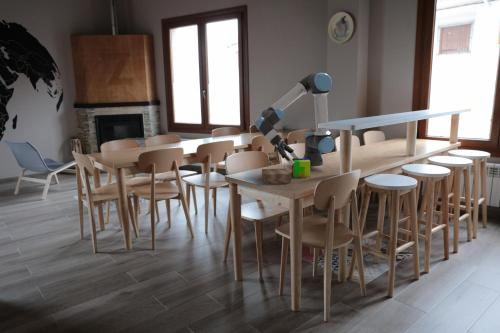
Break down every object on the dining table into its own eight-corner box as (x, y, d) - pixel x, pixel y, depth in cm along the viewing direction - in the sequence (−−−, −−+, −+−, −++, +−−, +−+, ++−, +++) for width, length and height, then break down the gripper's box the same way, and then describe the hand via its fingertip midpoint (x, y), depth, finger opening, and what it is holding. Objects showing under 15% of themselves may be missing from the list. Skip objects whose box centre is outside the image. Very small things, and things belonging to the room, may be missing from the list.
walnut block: (285, 177, 248) (285, 168, 247) (290, 183, 234) (291, 173, 233) (261, 178, 246) (261, 169, 245) (265, 184, 232) (265, 174, 231)
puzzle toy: (307, 173, 259) (307, 158, 257) (309, 176, 249) (310, 161, 247) (291, 173, 259) (292, 158, 257) (294, 177, 249) (294, 161, 247)
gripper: (275, 139, 268) (296, 162, 266) (263, 144, 245) (286, 169, 243) (283, 131, 265) (304, 155, 263) (271, 136, 242) (295, 162, 240)
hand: (295, 162), depth 253 cm, fingers open, 13 cm apart
